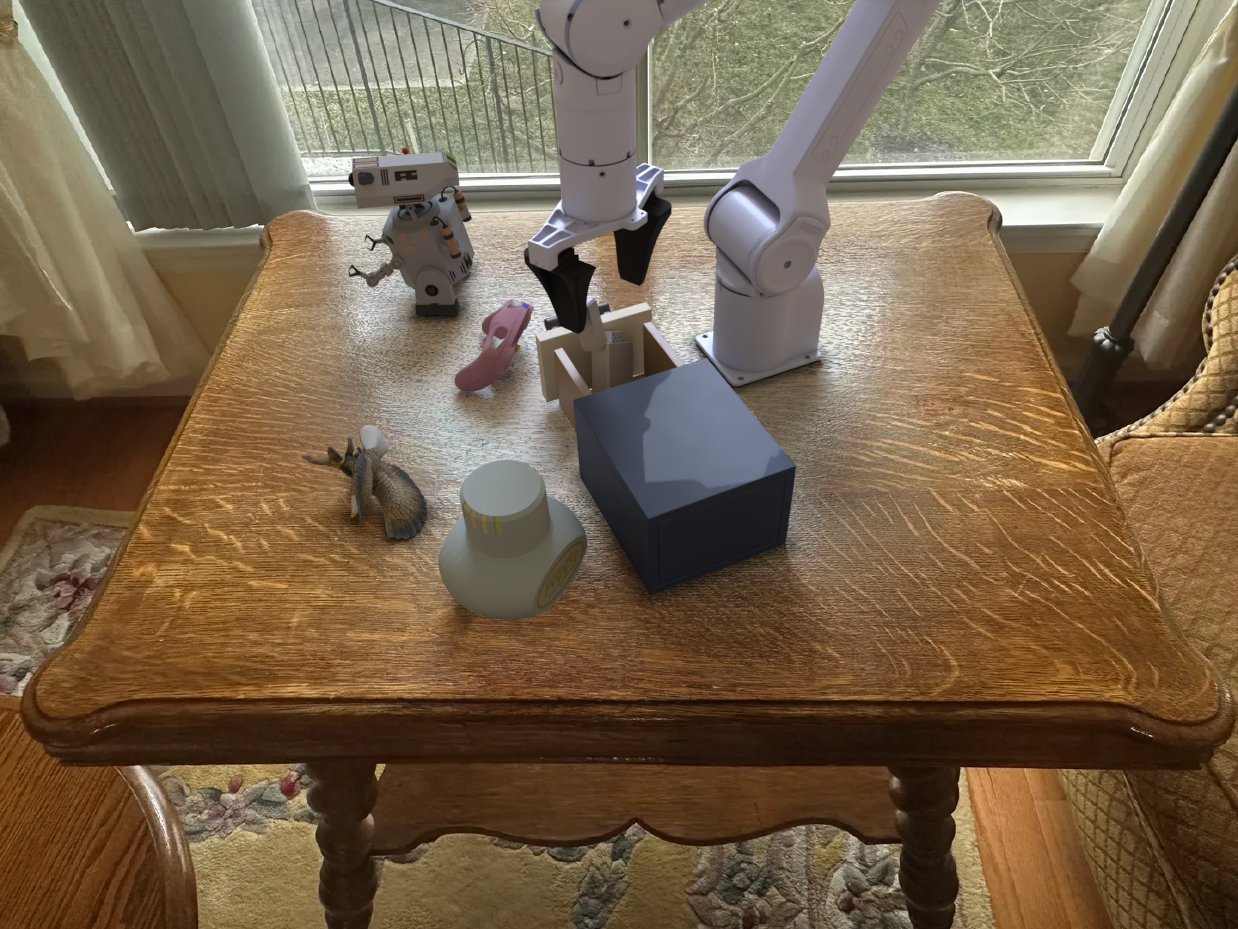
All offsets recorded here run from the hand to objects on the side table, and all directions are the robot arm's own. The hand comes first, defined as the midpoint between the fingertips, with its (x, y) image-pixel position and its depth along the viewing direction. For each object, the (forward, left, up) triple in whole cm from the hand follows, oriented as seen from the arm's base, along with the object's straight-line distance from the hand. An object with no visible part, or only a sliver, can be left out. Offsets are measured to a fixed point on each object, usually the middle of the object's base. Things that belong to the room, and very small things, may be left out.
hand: (603, 303), depth 78 cm
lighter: (+2, +4, -6) cm, 8 cm away
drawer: (0, +2, -9) cm, 10 cm away
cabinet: (0, +15, -10) cm, 18 cm away
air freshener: (+14, +16, -11) cm, 24 cm away
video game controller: (+7, -9, -11) cm, 16 cm away
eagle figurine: (+22, +4, -11) cm, 25 cm away
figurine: (+11, -24, -11) cm, 28 cm away
